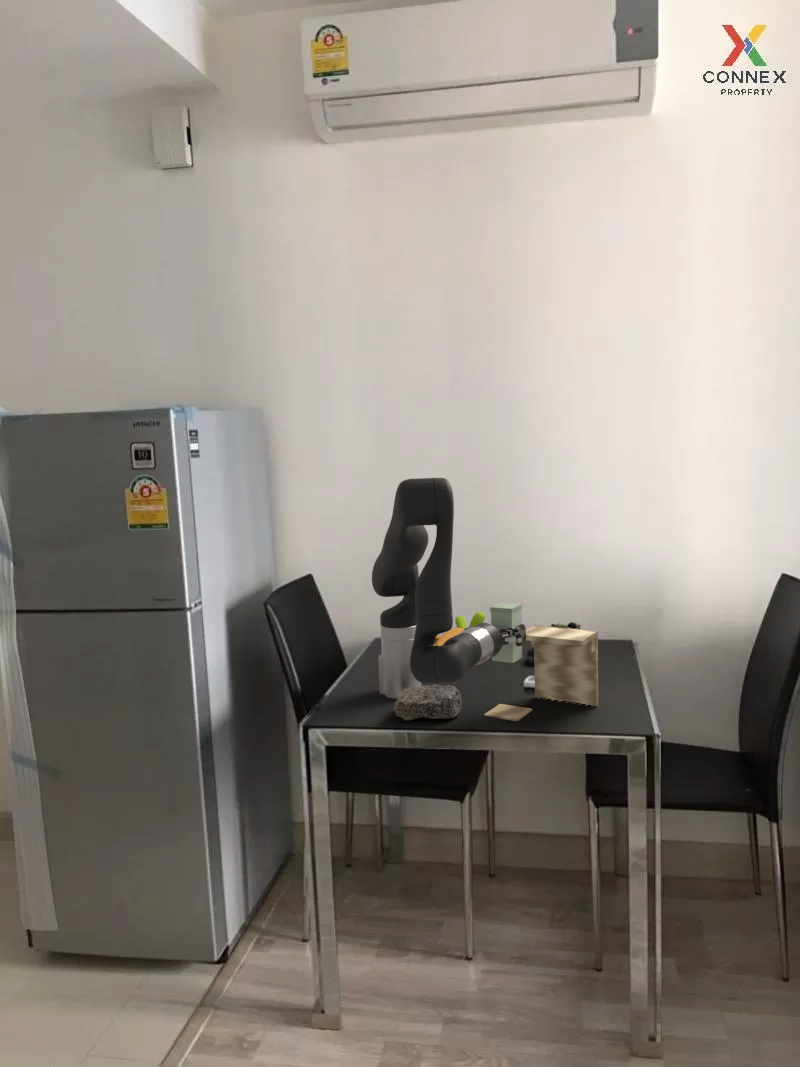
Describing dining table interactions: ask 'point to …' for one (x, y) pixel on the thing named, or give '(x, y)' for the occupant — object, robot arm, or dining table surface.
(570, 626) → the hiking shoe
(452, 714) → the rock
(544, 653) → the shelf
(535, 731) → the dining table surface
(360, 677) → the dining table surface
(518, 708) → the mat
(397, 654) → the robot arm
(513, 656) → the tin
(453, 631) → the toy
